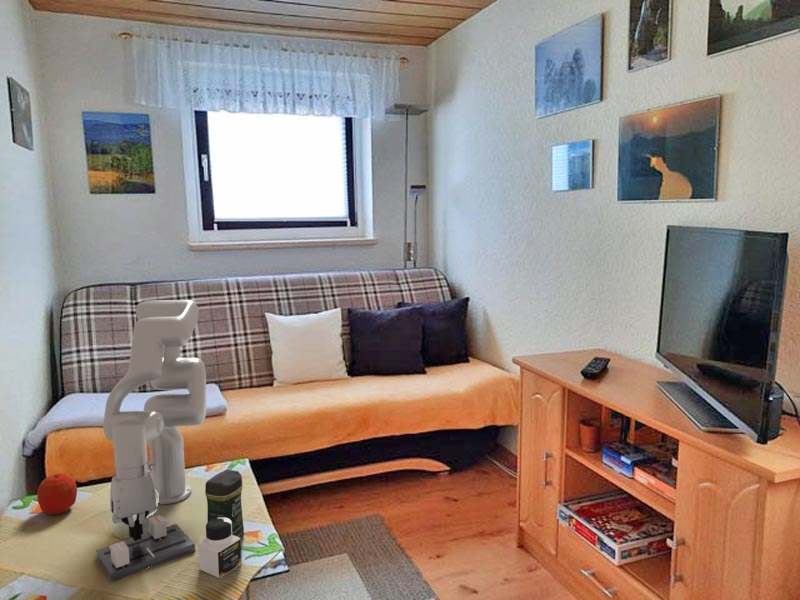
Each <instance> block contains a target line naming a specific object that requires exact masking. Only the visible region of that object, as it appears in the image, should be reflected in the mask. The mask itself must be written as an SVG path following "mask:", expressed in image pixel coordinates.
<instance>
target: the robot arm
mask: <svg viewBox="0 0 800 600" xmlns="http://www.w3.org/2000/svg"><path fill="white" fill-rule="evenodd" d="M135 311H136V312H135V313H136V318H137V321H136V322H135V324H134V326H133V331H132V340H131V347H130V357H129V362H128V364H129V366H128V370H127V373H126V374H125V375H124V376H123V377H122V378H120V380H118V382H117V383H116V384H115V386H114V387H113V388H112V389H111V392H110V393H109V394H108V397H107V399H106V402H105V409H104V416H103V425H102V426H103V427H102V428H103V434H104V436H105V438H106V439H107V440H109V441H112V443H113V445H112V446H113V456H114V457H113V459H114V472H115V475H114V476H112V478H111V483H110V499H109V500H110V501H109V503H110V507H109V508H110V512H111V513H112V516H111V522H112V523H113V524H121V523H123V524H125V525H127V526H128V536H129V537H130V538H129V539H132V538H133V539H134V541H137V540H140V539H142V536H141V535H144V525H143V524H144V523H145V521H146V519H147V518H148V516H149V515H150V514H152V513H153V512H156V511H157V510H158V507H157V504H156V492H155V489H156V490H157V491H158V493H159V503H160V504H159V505H169V504H174V503H178V502H180V501H183V500H186V498H188V497H189V496H190V495H191V493H192V486H191V485H189V484H187V483H186V469H185V468H186V467H185V451H184V450H185V448H184V447H185V446H184V438H183V434H182V433H181V432H180V430H179V429H178V428H177V427H193V426H194V427H195V426H199V425H202V424H203V423H204V421H205V418H206V415H207V371H206V365H205V363H204V361H203V360H202V359H200V358H198V357H181V347H183V346H186V345H187V343H189V341H190V339H191V337H192V335H193V332H194V330H195V327H196V326H197V324H198V320H199V312H200V311H199V307H198V305H197V303H195V301H193V300H189V299H159V300H158V299H154V300H146V301H142V302H140V303H139V304H137V306H136V309H135ZM147 383H150V385H151V387H152V388H154V389H155V390H160V391H161V390H162V391H163V390H164V391H173V390H176V391H177V390H187V391H188V393H168V394H165V393H164V394H155V395H152V396H150V397H149V398H148V399H147V400H146V401H145V402H144V405H143V410H129V411H121V407H122V404H123V402H124V400H125V398H126V397H127V396H128V395H129V394H130V393H132V392H133V391H134V390H136V389H138V388H139V387H141V386H144V385H146V384H147ZM148 443H149V445H148ZM147 445H148V446H149V457H150V458H149V459H148V447H147ZM134 516H135V520H134Z"/></svg>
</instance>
